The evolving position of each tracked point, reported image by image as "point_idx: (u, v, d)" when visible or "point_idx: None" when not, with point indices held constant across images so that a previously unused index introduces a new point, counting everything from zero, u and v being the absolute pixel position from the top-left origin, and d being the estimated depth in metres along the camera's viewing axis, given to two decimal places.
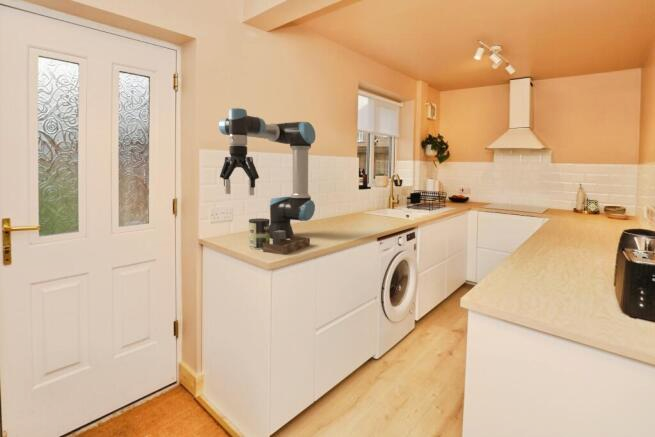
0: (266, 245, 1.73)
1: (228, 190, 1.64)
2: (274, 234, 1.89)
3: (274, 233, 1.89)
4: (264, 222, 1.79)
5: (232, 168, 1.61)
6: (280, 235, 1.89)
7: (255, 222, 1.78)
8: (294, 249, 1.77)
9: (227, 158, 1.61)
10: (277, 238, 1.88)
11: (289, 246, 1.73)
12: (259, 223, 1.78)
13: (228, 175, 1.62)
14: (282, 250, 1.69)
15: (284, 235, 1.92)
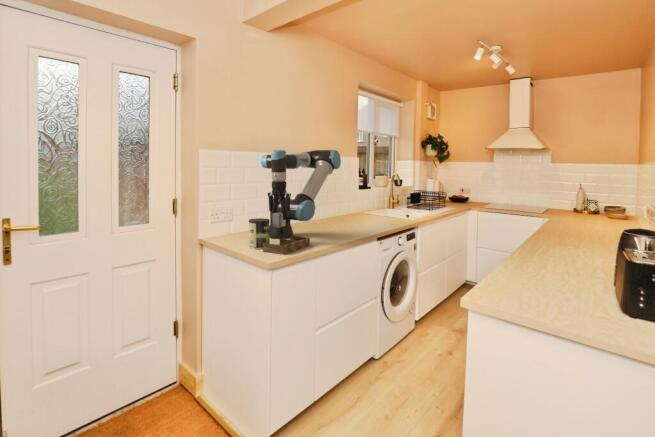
0: (266, 245, 1.73)
1: None
2: (274, 216, 1.88)
3: (274, 215, 1.87)
4: (264, 222, 1.79)
5: (276, 200, 1.89)
6: (280, 217, 1.87)
7: (255, 222, 1.78)
8: (294, 249, 1.77)
9: (269, 193, 1.90)
10: (277, 220, 1.87)
11: (289, 246, 1.73)
12: (259, 223, 1.78)
13: (275, 208, 1.90)
14: (282, 250, 1.69)
15: None
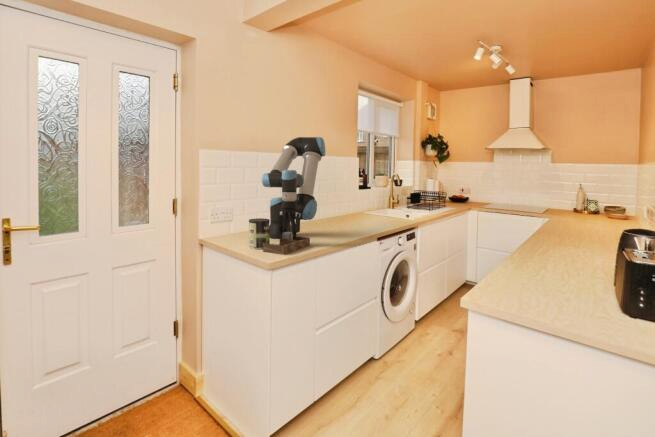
0: (266, 245, 1.73)
1: None
2: (284, 235, 1.86)
3: (284, 234, 1.86)
4: (264, 222, 1.79)
5: (286, 220, 1.88)
6: (289, 237, 1.86)
7: (255, 222, 1.78)
8: (294, 249, 1.77)
9: (279, 212, 1.89)
10: (287, 239, 1.85)
11: (289, 246, 1.73)
12: (259, 223, 1.78)
13: (285, 227, 1.89)
14: (282, 250, 1.69)
15: None
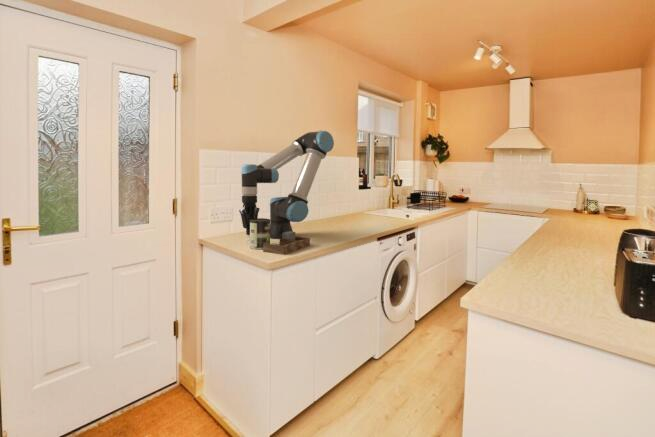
0: (266, 245, 1.73)
1: None
2: (284, 235, 1.86)
3: (284, 234, 1.86)
4: (265, 222, 1.79)
5: None
6: (289, 237, 1.86)
7: (256, 222, 1.78)
8: (294, 249, 1.77)
9: (255, 208, 1.90)
10: (287, 239, 1.85)
11: (289, 246, 1.73)
12: (260, 223, 1.78)
13: None
14: (282, 250, 1.69)
15: (294, 236, 1.89)
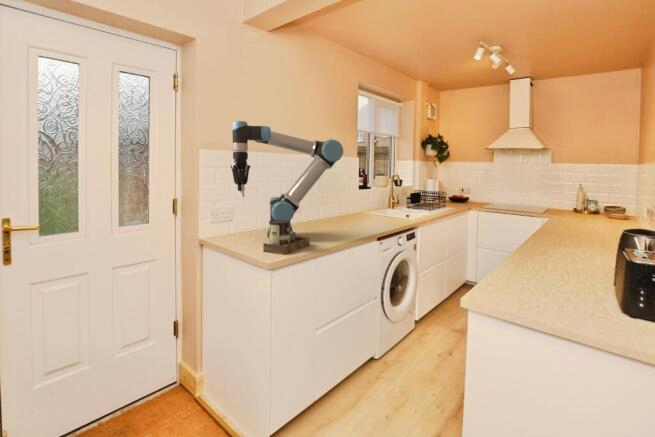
0: (266, 245, 1.73)
1: None
2: None
3: None
4: (287, 223, 1.75)
5: None
6: None
7: (278, 224, 1.73)
8: (294, 249, 1.77)
9: (246, 165, 1.96)
10: None
11: (289, 246, 1.73)
12: (283, 224, 1.74)
13: None
14: (282, 250, 1.69)
15: (294, 236, 1.89)
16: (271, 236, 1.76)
